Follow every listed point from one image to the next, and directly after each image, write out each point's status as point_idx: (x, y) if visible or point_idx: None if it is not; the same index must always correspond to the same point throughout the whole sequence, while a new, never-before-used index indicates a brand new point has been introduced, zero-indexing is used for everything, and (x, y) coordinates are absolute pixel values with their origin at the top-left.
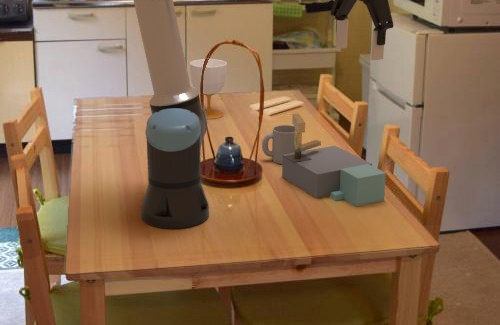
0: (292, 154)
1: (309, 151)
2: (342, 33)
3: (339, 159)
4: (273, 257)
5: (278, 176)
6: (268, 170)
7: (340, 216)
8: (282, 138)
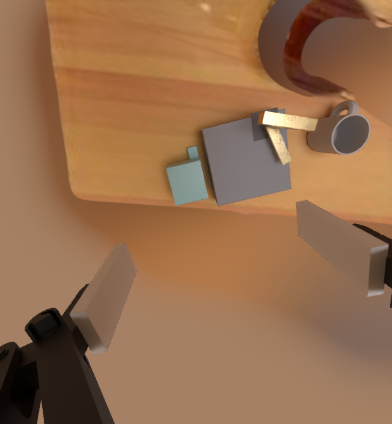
0: None
1: None
2: (327, 239)
3: (243, 175)
4: (49, 16)
5: None
6: (299, 102)
7: (147, 137)
8: (332, 124)
